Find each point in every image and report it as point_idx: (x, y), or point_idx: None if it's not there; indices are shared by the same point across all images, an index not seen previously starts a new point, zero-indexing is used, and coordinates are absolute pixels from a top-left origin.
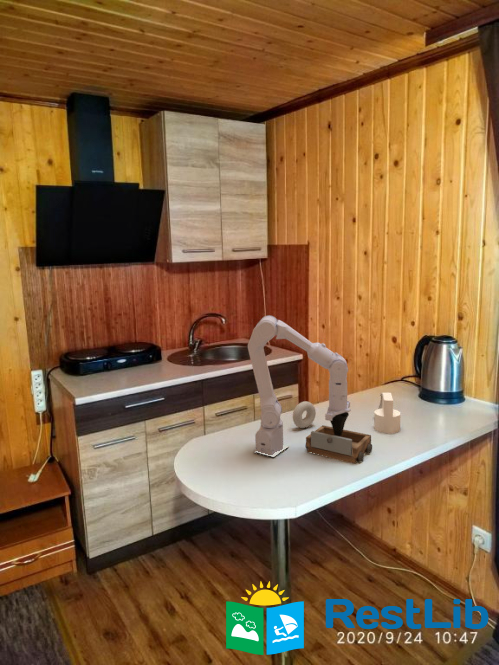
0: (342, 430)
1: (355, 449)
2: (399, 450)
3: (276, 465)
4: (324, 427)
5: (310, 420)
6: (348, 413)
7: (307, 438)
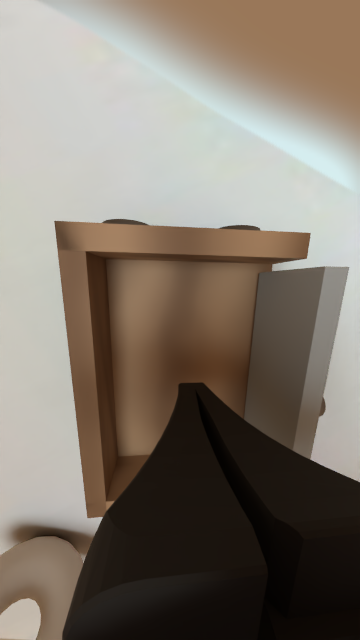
0: (192, 395)
1: (305, 240)
2: (15, 99)
3: (355, 459)
4: (106, 498)
5: (17, 569)
6: (127, 592)
7: None
